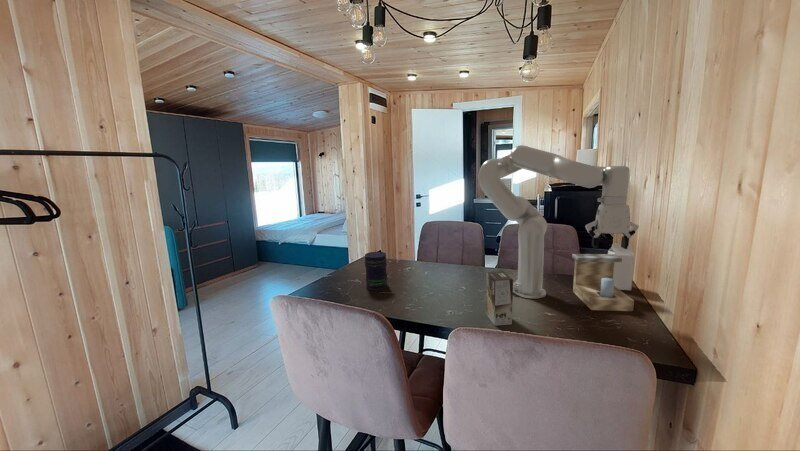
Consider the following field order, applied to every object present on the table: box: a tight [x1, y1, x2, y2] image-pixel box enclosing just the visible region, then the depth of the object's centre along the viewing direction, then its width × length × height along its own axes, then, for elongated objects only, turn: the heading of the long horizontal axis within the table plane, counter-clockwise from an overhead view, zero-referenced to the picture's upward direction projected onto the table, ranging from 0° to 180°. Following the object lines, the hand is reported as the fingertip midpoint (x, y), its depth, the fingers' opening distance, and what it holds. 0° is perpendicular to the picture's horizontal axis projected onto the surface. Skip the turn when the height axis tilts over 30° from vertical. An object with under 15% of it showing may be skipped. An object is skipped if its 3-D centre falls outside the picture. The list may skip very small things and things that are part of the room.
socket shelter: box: [571, 253, 635, 312], centre depth 127 cm, size 16×18×16 cm
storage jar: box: [364, 251, 388, 291], centre depth 151 cm, size 10×10×15 cm
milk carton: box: [607, 243, 635, 291], centre depth 139 cm, size 7×7×19 cm
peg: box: [600, 278, 614, 298], centre depth 123 cm, size 4×4×10 cm
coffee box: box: [485, 270, 514, 327], centre depth 114 cm, size 9×6×16 cm
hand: (609, 248), depth 120 cm, fingers open, 9 cm apart
